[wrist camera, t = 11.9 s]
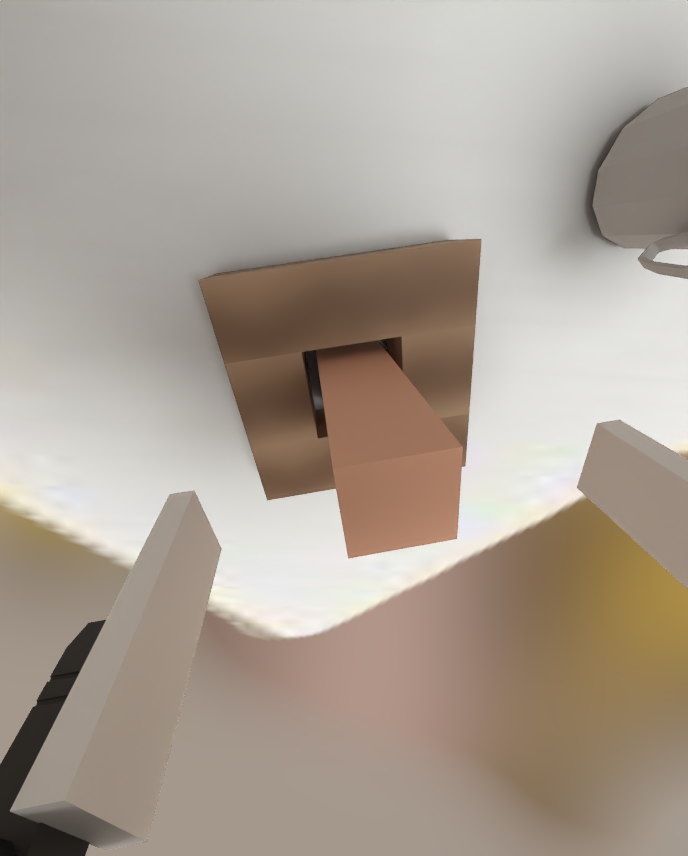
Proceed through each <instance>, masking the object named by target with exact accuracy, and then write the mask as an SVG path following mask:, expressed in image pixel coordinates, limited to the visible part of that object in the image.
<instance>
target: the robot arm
mask: <svg viewBox="0 0 688 856" xmlns="http://www.w3.org/2000/svg"><path fill="white" fill-rule="evenodd" d="M577 488H578V489H579V490H580V491H581V492H582V493H583V494H584V495H585V496H587V497H588V498H589V499H590V500H591V501H592V502H593V503H594V504H595V505H596V506H597V507H599V508H600V509H601V510H602V511H603V512H604V513H605V514H606V515H607V516H608V517H610V519H612V520H613V521H614V522H615V523H616V524H617V525H618V526H619V527H620V528H622V529H623V530H624V531H625V532H626V533H627V534H628V535H629V536H630V537H631V538H632V539H633V540H634V541H636V542H637V543H638V544H639V545H640V546H641V547H642V548H643V549H644V550H645V551H646V552H647V553H649V554H650V555H651V556H652V557H653V558H654V559H655V560H656V561H657V562H658V563H660V564H661V565H662V566H663V567H664V568H665V569H666V570H667V571H668V572H669V573H670V574H671V575H673V576H674V577H675V578H676V579H677V580H678V581H679V582H680V583H681V584H682V585H683V586H685V587H686V588H687V589H688V459H686V458H684V457H682V456H681V455H679V454H677V453H676V452H674V451H672V450H670V449H669V448H667V447H665V446H664V445H662V444H660V443H658V442H657V441H655V440H653V439H652V438H650V437H648V436H646V435H645V434H643V433H641V432H640V431H638V430H636V429H634V428H633V427H631V426H629V425H628V424H626V423H624V422H622V421H621V420H615V421H609V422H603V423H597V425H596V428H595V431H594V435H593V438H592V441H591V444H590V447H589V451H588V454H587V457H586V460H585V463H584V466H583V470H582V473H581V476H580V479H579V482H578V486H577ZM220 553H221V547H220V545H219V543H218V540H217V538H216V536H215V534H214V532H213V530H212V527H211V525H210V523H209V521H208V519H207V517H206V515H205V512H204V510H203V508H202V506H201V504H200V502H199V500H198V497H197V495H196V493H195V491H194V490H193V491H187V492H181V493H175V494H170V495H169V497H168V499H167V501H166V503H165V505H164V507H163V509H162V511H161V513H160V515H159V517H158V519H157V520H156V522H155V524H154V526H153V528H152V530H151V532H150V534H149V536H148V538H147V540H146V542H145V544H144V546H143V548H142V550H141V552H140V554H139V556H138V558H137V560H136V562H135V564H134V566H133V568H132V570H131V572H130V574H129V576H128V578H127V580H126V582H125V584H124V586H123V588H122V590H121V592H120V594H119V596H118V598H117V600H116V602H115V604H114V606H113V608H112V610H111V612H110V613H109V615H108V618H107V619H106V620H102V621H97V622H91V623H88V624H87V625H86V627H85V628H84V629H83V630H82V631H81V632H80V633H79V635H78V636H77V637H76V638H75V639H74V640H73V641H72V642H71V644H70V645H69V646H68V647H67V648H66V650H65V652H64V654H63V655H62V657H61V659H60V660H59V662H58V664H57V666H56V667H55V669H54V671H53V673H52V675H51V680H50V681H49V682H47V683H46V685H45V687H44V688H43V690H42V692H41V694H40V696H39V697H38V699H37V705H36V706H35V707H33V708H32V710H31V711H30V713H29V715H28V717H27V718H26V720H25V722H24V724H23V726H22V727H21V729H20V731H19V733H18V734H17V736H16V738H15V740H14V742H13V743H12V745H11V747H10V748H9V750H8V752H7V754H6V756H5V757H4V759H3V761H2V763H1V764H0V856H85V854H86V851H87V848H88V845H89V844H91V845H94V846H96V847H98V848H101V849H103V850H109V849H114V848H119V847H124V846H129V845H134V844H139V843H144V842H147V841H148V837H149V832H150V829H151V824H152V821H153V817H154V813H155V809H156V805H157V801H158V797H159V793H160V789H161V785H162V781H163V777H164V773H165V770H166V766H167V762H168V758H169V754H170V750H171V746H172V741H173V738H174V734H175V730H176V726H177V722H178V718H179V714H180V710H181V706H182V703H183V698H184V695H185V691H186V687H187V683H188V679H189V675H190V671H191V667H192V662H193V659H194V655H195V651H196V647H197V643H198V639H199V635H200V631H201V628H202V624H203V620H204V616H205V612H206V608H207V604H208V600H209V596H210V592H211V588H212V584H213V580H214V576H215V572H216V568H217V564H218V561H219V557H220Z"/></svg>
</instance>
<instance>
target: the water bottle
mask: <svg viewBox="0 0 688 856" xmlns="http://www.w3.org/2000/svg"><path fill="white" fill-rule="evenodd" d="M592 207H593V209H594V212H595V215H596V218H597V221H598V224H599V227H600V230H601V233H602V236H603V237H605V238H607V239H609V240H610V241H612V242H614V243H616V244H617V245H619V246H621V247H623V248H646V249H645V251H644V252H643V253H642V254H641V255H640V257H639V258H638V260H639V262H640V263H641V264H642V266H643V267H644V268H646V269H648V270H651V271H653V272H655V273H658V274H662V275H668V276H674V277H680V278H686V279H688V266H683V265H675V264H668V263H661V262H654V261H652V260H653V259H654V258H655V256H656V255H657V254H658V253H659V252H662V251H665V250H669V249H688V87H686V88H683V89H681V90H678V91H676V92H674V93H671V94H669V95H666V96H664V97H661V98H659V99H657V100H656V101H655V102H654V103H652V104H651V105H650V106H649V107H648V108H646V109H645V110H644V111H643V112H642V113H640V114H639V115H638V116H637V117H636V118H634V119H633V120H632V121H631V122H630V123H628V124H627V125H626V126H625V127H624V128H623V129H622V131H621V132H620V134H619V136H618V137H617V139H616V141H615V143H614V144H613V146H612V148H611V149H610V151H609V153H608V155H607V156H606V158H605V160H604V162H603V163H602V165H601V167H600V168H599V170H598V175H597V180H596V186H595V192H594V197H593V203H592Z"/></svg>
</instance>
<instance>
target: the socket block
mask: <svg viewBox="0 0 688 856" xmlns="http://www.w3.org/2000/svg"><path fill="white" fill-rule="evenodd" d="M480 251H481V239H466V240H446V241H439V242H432V243H425V244H418V245H411V246H405V247H398V248H391V249H384V250H377V251H370V252H363V253H356V254H349V255H342V256H336V257H329V258H322V259H315V260H308V261H301V262H294V263H287V264H280V265H273V266H267V267H260V268H253V269H246V270H239V271H232V272H225V273H218V274H214V275H212V276H209V277H206V278H203V279H200V280H198V281H199V284H200V287H201V290H202V294H203V297H204V300H205V303H206V306H207V310H208V313H209V316H210V319H211V322H212V325H213V329H214V332H215V335H216V338H217V341H218V345H219V348H220V351H221V354H222V357H223V360H224V364H225V367H226V370H227V373H228V376H229V380H230V383H231V386H232V389H233V392H234V396H235V399H236V402H237V405H238V408H239V411H240V415H241V418H242V421H243V424H244V427H245V431H246V434H247V437H248V440H249V443H250V446H251V450H252V453H253V456H254V459H255V462H256V466H257V469H258V472H259V475H260V478H261V482H262V485H263V488H264V491H265V494H266V497H267V500H272V499H277V498H283V497H289V496H295V495H301V494H307V493H312V492H318V491H324V490H330V489H336V485H335V479H334V473H333V467H332V460H331V453H330V446H329V439H328V432H327V425H326V418H325V411H324V410H318V411H315V406H314V400H313V395H312V390H311V384H310V379H309V374H308V368H307V363H306V357H305V351H311V350H317V349H324V348H330V347H337V346H343V345H350V344H356V343H363V342H369V341H375V340H382V339H387V353H388V354H389V355H390V356H391V358H392V359H393V360H394V361H395V363H396V364H397V365H398V366H399V368H400V369H401V370H402V371H403V373H404V374H405V375H406V376H407V378H408V379H409V380H410V381H411V383H412V384H413V385H414V386H415V388H416V389H417V390H418V391H419V393H420V394H421V395H422V396H423V398H424V399H425V400H426V401H427V403H428V404H429V405H430V406H431V408H432V409H433V410H434V411H435V413H436V414H437V415H438V416H439V418H440V419H441V420H442V421H443V423H444V424H445V425H446V427H447V428H448V429H449V430H450V432H451V433H452V434H453V435H454V437H455V438H456V439H457V440H458V442H459V443H460V444H461V445H462V447H463V452H462V467H464V466H465V463H466V449H467V435H468V421H469V407H470V393H471V378H472V364H473V350H474V336H475V322H476V308H477V294H478V280H479V265H480Z"/></svg>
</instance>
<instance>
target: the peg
mask: <svg viewBox="0 0 688 856" xmlns="http://www.w3.org/2000/svg"><path fill="white" fill-rule="evenodd" d="M316 355H317V362H318V369H319V376H320V383H321V390H322V397H323V404H324V411H325V418H326V425H327V432H328V439H329V446H330V453H331V460H332V467H333V473H334V479H335V485H336V490H337V496H338V502H339V508H340V513H341V519H342V525H343V530H344V536H345V542H346V548H347V553H348V558H353V557H359V556H364V555H370V554H375V553H381V552H386V551H392V550H397V549H403V548H408V547H414V546H419V545H425V544H430V543H436V542H442V541H447V540H453V539H457V530H458V514H459V499H460V483H461V467H462V452H463V447H462V445H461V444H460V443H459V442H458V440H457V439H456V438H455V437H454V435H453V434H452V433H451V432H450V430H449V429H448V428H447V427H446V425H445V424H444V423H443V421H442V420H441V419H440V418H439V416H438V415H437V414H436V413H435V411H434V410H433V409H432V408H431V406H430V405H429V404H428V403H427V401H426V400H425V399H424V398H423V396H422V395H421V394H420V393H419V391H418V390H417V389H416V388H415V386H414V385H413V384H412V383H411V381H410V380H409V379H408V378H407V376H406V375H405V374H404V373H403V371H402V370H401V369H400V368H399V366H398V365H397V364H396V363H395V361H394V360H393V359H392V358H391V356H390V355H389V354H388V353H387V351H386V350H385V349H384V348H383V346H382V345H381V344H380V343H379V341H378V340H375V341H369V342H363V343H356V344H350V345H343V346H337V347H330V348H324V349H317V350H316Z"/></svg>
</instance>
